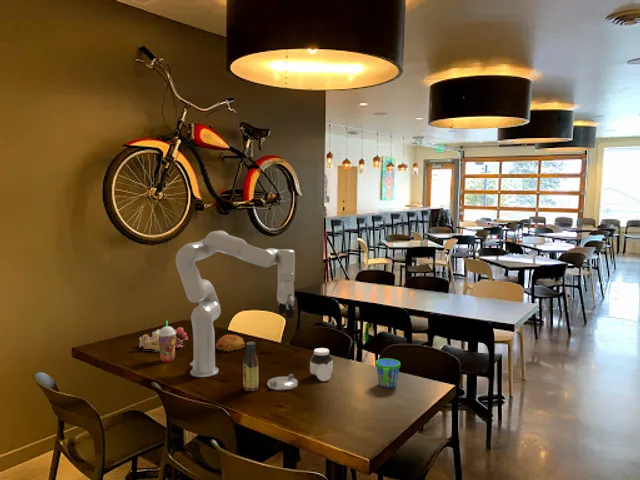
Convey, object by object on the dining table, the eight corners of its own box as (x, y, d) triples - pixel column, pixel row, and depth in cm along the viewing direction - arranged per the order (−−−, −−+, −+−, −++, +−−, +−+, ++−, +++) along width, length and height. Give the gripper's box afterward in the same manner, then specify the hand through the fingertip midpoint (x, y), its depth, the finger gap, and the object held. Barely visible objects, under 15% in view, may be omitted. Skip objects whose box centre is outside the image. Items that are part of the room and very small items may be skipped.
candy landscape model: (177, 353, 248) (177, 336, 247) (132, 353, 248) (132, 335, 247) (191, 340, 272) (190, 324, 272) (150, 339, 273) (149, 323, 272)
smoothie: (155, 362, 232) (154, 321, 231) (166, 357, 240) (165, 318, 239) (168, 364, 229) (168, 323, 228) (180, 359, 237) (179, 319, 236)
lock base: (260, 385, 202) (260, 379, 202) (281, 376, 213) (281, 371, 213) (283, 393, 194) (283, 386, 194) (304, 383, 205) (304, 377, 205)
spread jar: (323, 370, 221) (323, 346, 220) (341, 377, 213) (341, 351, 212) (304, 377, 213) (304, 351, 212) (322, 383, 205) (322, 357, 204)
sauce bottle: (243, 386, 201) (243, 340, 200) (258, 386, 202) (258, 340, 200) (242, 392, 195) (242, 344, 193) (258, 392, 195) (257, 344, 194)
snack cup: (395, 393, 194) (396, 369, 193) (370, 390, 198) (371, 366, 197) (403, 380, 209) (404, 358, 208) (380, 377, 213) (380, 355, 212)
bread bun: (229, 346, 266) (228, 332, 267) (249, 347, 257) (248, 332, 257) (209, 352, 254) (208, 337, 255) (229, 353, 245) (228, 338, 246)
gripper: (271, 275, 216) (271, 312, 217) (284, 280, 200) (284, 320, 201) (287, 274, 219) (287, 311, 220) (301, 279, 203) (301, 319, 204)
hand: (285, 315), depth 211 cm, fingers open, 9 cm apart
